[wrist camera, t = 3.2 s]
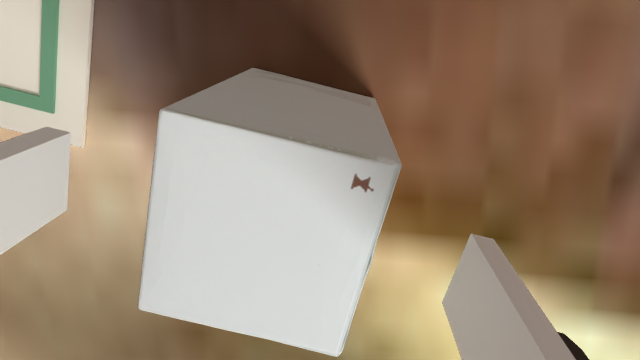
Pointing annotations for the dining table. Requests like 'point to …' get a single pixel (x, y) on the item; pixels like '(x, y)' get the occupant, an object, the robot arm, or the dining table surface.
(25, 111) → the marked card
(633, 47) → the dining table surface
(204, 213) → the supplement box
